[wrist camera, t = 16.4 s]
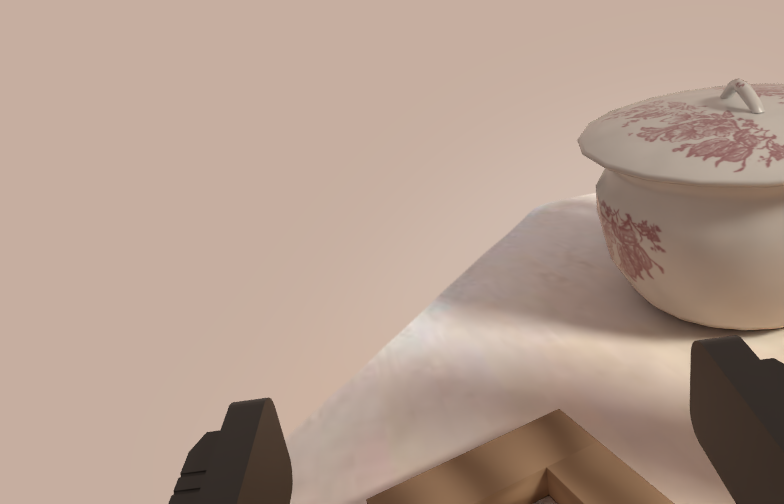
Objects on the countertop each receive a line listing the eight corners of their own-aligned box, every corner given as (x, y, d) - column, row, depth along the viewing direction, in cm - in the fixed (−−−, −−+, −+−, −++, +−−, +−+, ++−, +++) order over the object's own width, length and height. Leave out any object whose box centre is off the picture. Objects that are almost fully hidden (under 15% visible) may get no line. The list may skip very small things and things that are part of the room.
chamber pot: (796, 422, 49) (824, 149, 41) (529, 300, 71) (511, 105, 63) (967, 278, 62) (1017, 46, 53) (696, 212, 84) (699, 39, 75)
